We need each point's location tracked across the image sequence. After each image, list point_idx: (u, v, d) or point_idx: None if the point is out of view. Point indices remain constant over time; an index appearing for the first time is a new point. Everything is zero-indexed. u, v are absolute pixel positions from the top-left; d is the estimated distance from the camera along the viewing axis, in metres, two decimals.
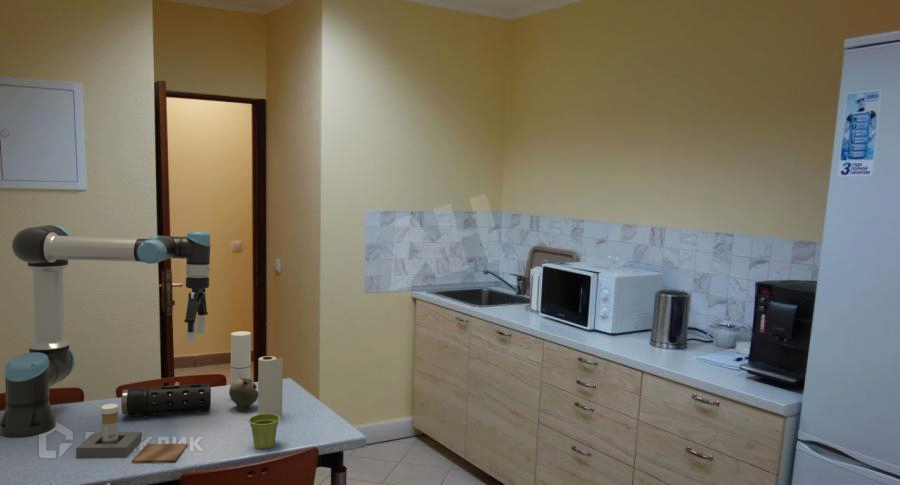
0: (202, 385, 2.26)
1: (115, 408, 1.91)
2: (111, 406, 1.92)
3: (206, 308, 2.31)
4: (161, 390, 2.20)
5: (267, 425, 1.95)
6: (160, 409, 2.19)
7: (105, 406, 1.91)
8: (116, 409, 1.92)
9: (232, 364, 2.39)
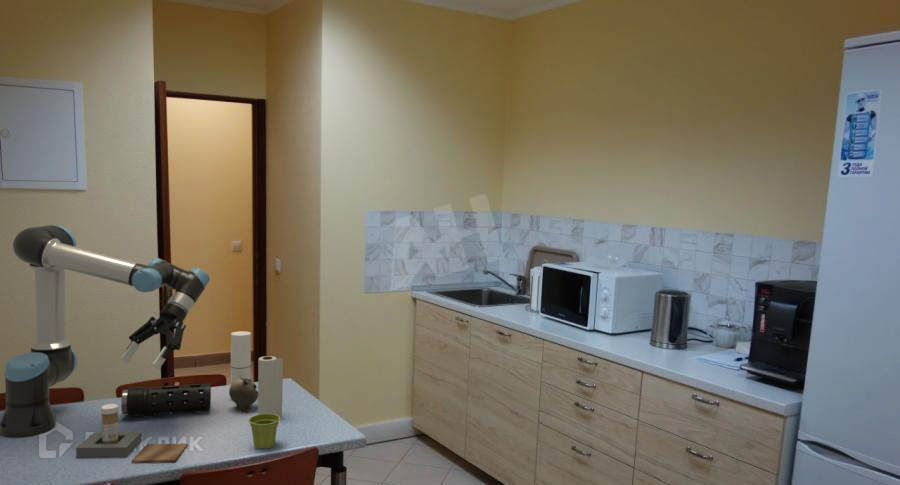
0: (202, 385, 2.26)
1: (115, 408, 1.91)
2: (111, 406, 1.92)
3: None
4: (161, 390, 2.20)
5: (267, 425, 1.95)
6: (160, 409, 2.19)
7: (105, 406, 1.91)
8: (116, 409, 1.92)
9: (232, 364, 2.39)
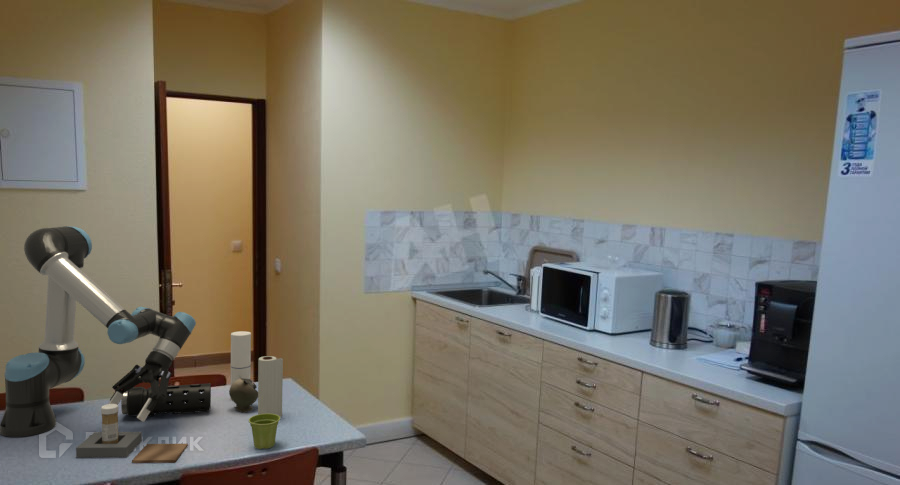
0: (202, 385, 2.26)
1: (115, 408, 1.91)
2: (111, 406, 1.92)
3: None
4: None
5: (267, 425, 1.95)
6: (160, 409, 2.19)
7: (105, 406, 1.91)
8: (116, 409, 1.92)
9: (232, 364, 2.39)
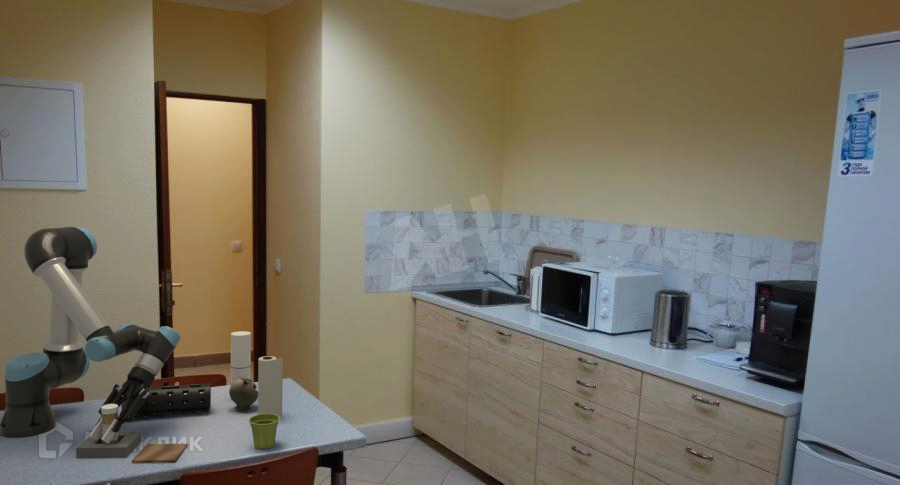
0: (202, 385, 2.26)
1: (115, 408, 1.91)
2: (111, 406, 1.92)
3: None
4: (161, 390, 2.20)
5: (267, 425, 1.95)
6: (160, 409, 2.19)
7: (104, 406, 1.91)
8: (116, 409, 1.92)
9: (232, 364, 2.39)
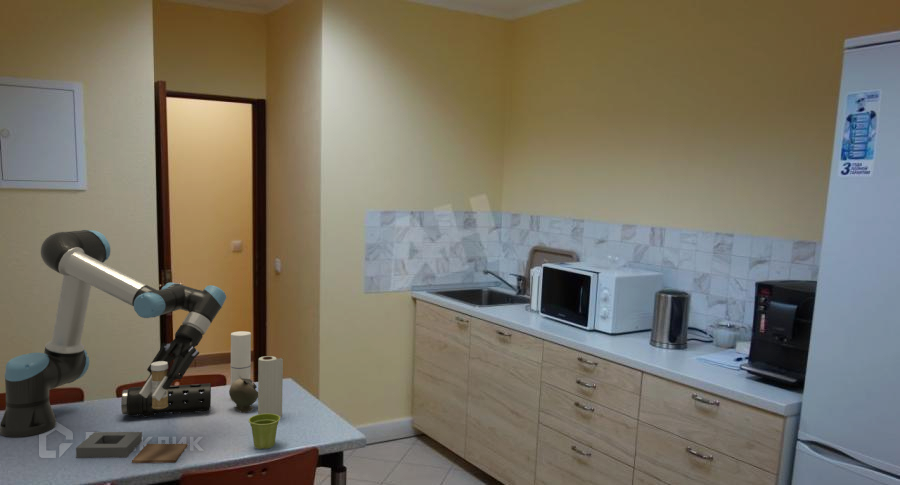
0: (202, 385, 2.26)
1: (165, 365, 1.88)
2: (161, 362, 1.89)
3: None
4: None
5: (267, 425, 1.95)
6: (160, 409, 2.19)
7: (154, 363, 1.88)
8: (166, 366, 1.88)
9: (232, 364, 2.39)
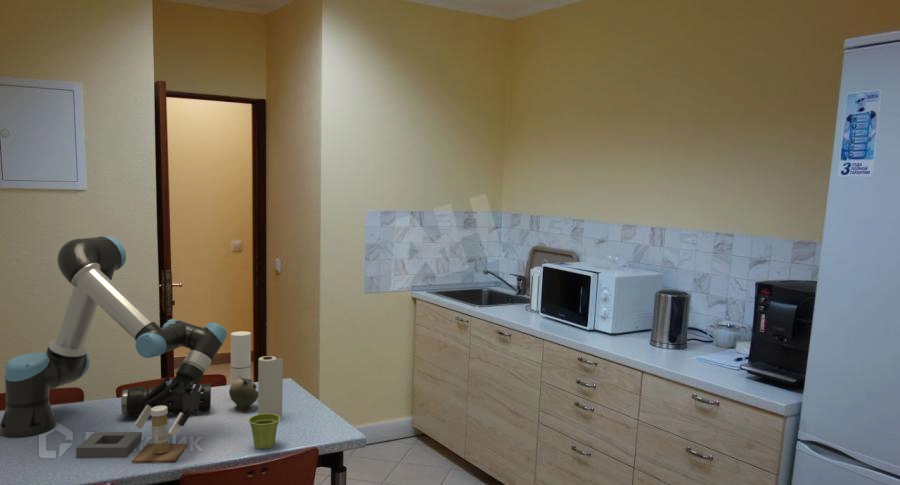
0: (202, 385, 2.26)
1: (165, 410, 1.89)
2: (161, 407, 1.90)
3: None
4: None
5: (267, 425, 1.95)
6: None
7: (154, 408, 1.89)
8: (166, 411, 1.89)
9: (232, 364, 2.39)
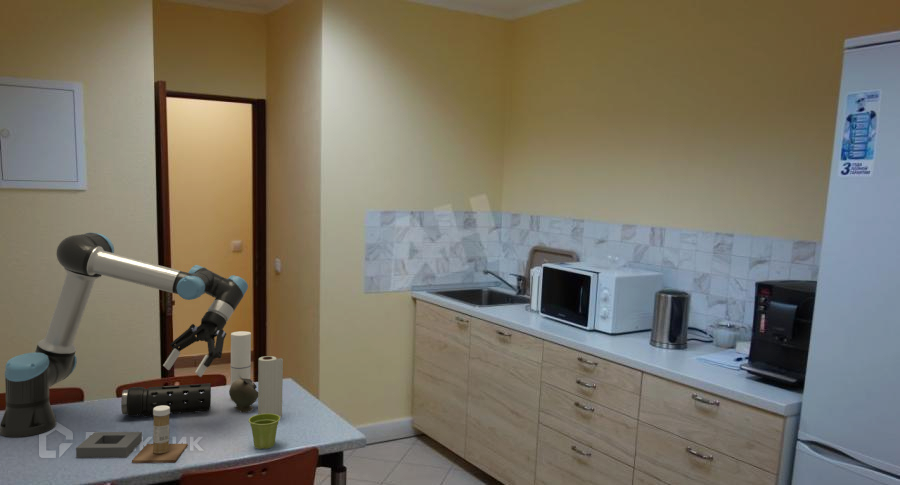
0: (202, 385, 2.26)
1: (167, 410, 1.89)
2: (163, 407, 1.90)
3: None
4: (161, 390, 2.20)
5: (267, 425, 1.95)
6: None
7: (156, 408, 1.89)
8: (168, 411, 1.90)
9: (232, 364, 2.39)
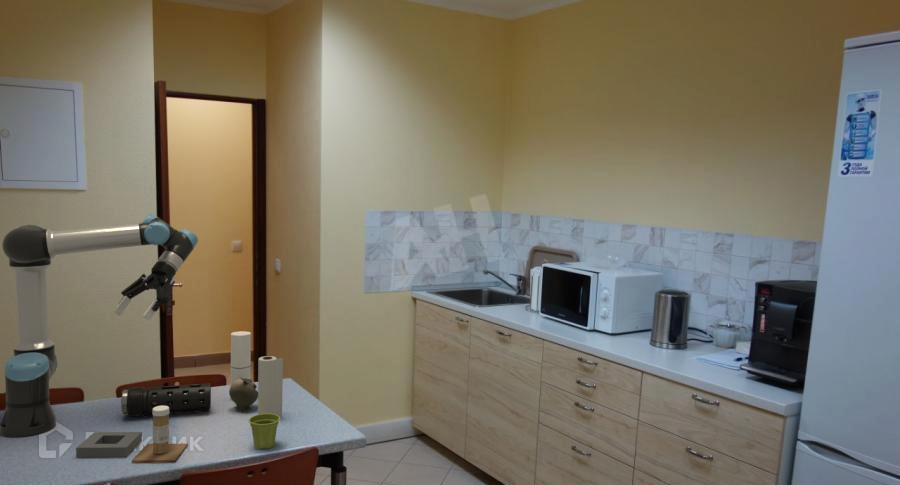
0: (202, 385, 2.26)
1: (167, 410, 1.89)
2: (162, 407, 1.90)
3: None
4: (161, 390, 2.20)
5: (267, 425, 1.95)
6: None
7: (156, 408, 1.89)
8: (167, 411, 1.89)
9: (232, 364, 2.39)
